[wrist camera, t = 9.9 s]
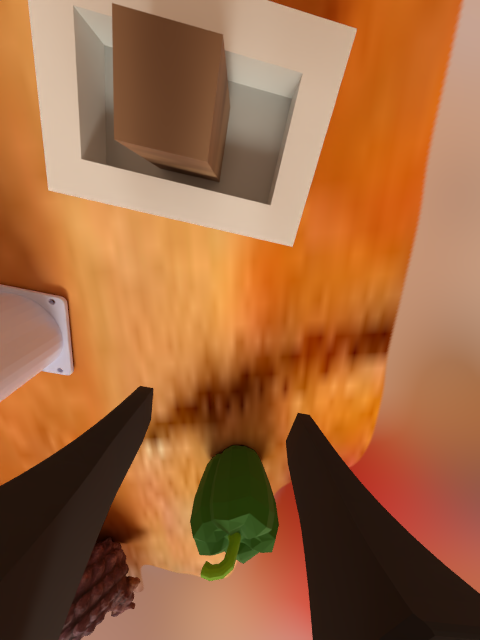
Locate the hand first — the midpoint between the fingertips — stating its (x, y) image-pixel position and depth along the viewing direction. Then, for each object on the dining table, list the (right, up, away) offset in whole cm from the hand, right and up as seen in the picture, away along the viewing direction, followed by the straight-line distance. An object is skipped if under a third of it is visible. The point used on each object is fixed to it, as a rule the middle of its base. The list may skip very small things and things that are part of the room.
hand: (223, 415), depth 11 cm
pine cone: (-21, -28, +24) cm, 42 cm away
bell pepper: (0, -12, +16) cm, 20 cm away
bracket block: (-2, +16, +3) cm, 17 cm away
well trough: (-2, +17, +4) cm, 17 cm away
